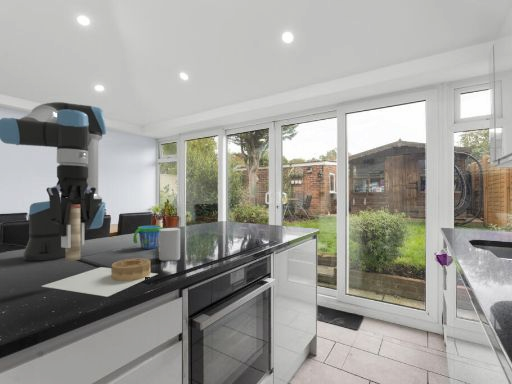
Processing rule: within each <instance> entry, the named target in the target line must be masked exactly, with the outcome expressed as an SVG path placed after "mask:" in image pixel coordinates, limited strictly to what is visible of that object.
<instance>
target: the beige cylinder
mask: <svg viewBox="0 0 512 384" xmlns="http://www.w3.org/2000/svg"><path fill="white" fill-rule="evenodd" d="M68 225H71V248H66V256H65V261H66V262H73V261H74V262H75V261H78V260H81V245H80V204H71V208H70V214H69V220H68Z"/></svg>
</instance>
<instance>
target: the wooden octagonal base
mask: <svg viewBox="0 0 512 384" xmlns="http://www.w3.org/2000/svg"><path fill="white" fill-rule="evenodd" d="M151 261H152V260H150V259H148V258H128V259H121V260H118V261H114V262H113V263H112V264H111V267H110V268H111V278H112V279H113V280H116V281H133V280H138V279H142V278H145V277H147V276H149V275H150V273H152V272H151V271H152V270H151Z"/></svg>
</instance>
